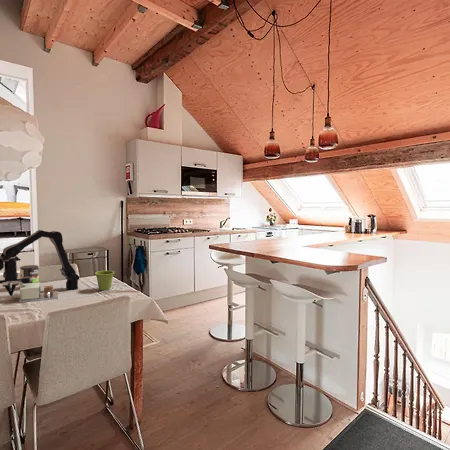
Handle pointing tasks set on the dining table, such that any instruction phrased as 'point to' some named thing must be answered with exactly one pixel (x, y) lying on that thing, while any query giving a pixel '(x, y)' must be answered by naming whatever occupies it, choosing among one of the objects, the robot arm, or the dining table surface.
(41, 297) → the housing base
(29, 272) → the coffee can
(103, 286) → the plant pot
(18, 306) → the dining table surface
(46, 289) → the walnut block
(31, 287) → the cover
